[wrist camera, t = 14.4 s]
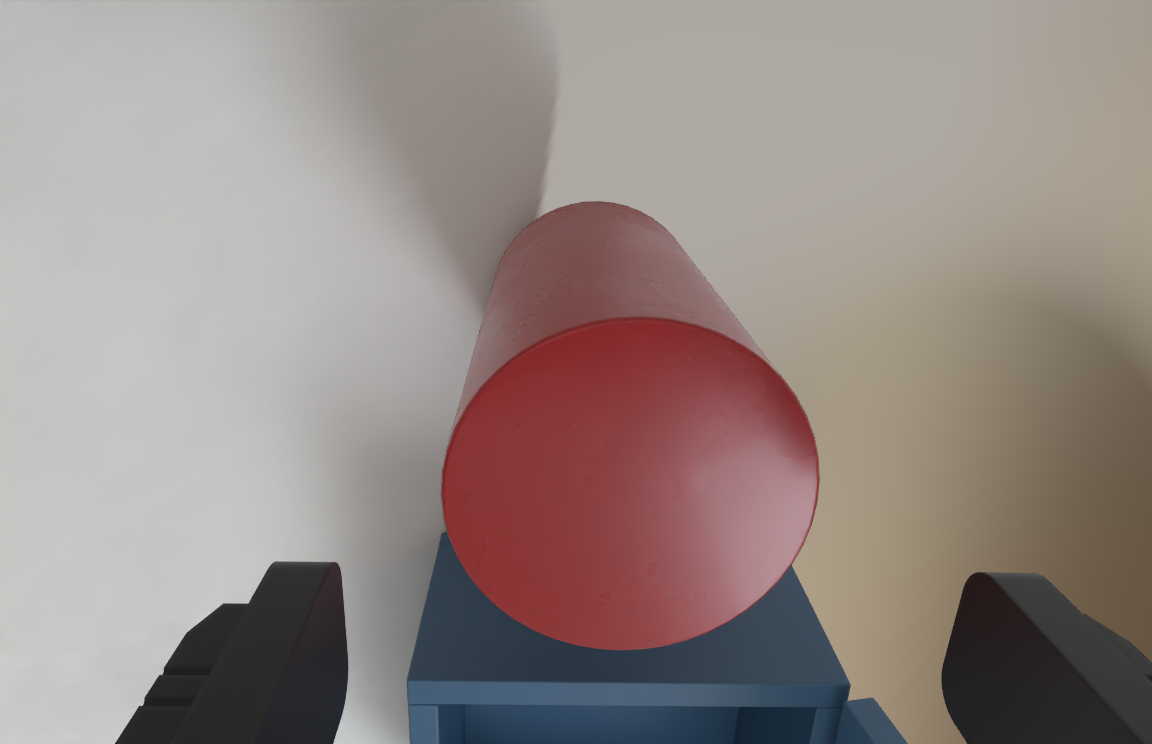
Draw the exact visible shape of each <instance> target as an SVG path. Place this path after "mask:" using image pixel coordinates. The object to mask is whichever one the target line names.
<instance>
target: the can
mask: <svg viewBox="0 0 1152 744" xmlns="http://www.w3.org/2000/svg"><path fill="white" fill-rule="evenodd" d="M819 481H820V477H819V457H818V453H817V447H816V442H815V437H814V434H813V431H812V428H811V426H810V423H809V420H808V417H807V415H806V413H805V411H804V409H803V407H802V406H801V404H800V402H799V400H798V398H797V396H796V395H795V393H794V392H793V391H792V390H791V388H790V387H789V386H788V384H787V383H786V382H785V380H784V379H783V378H782V376H781V375H780V374H779V373H778V371H777V370H776V369H775V367H774V366H773V365H772V364H771V362H770V361H769V360H768V358H767V357H766V356H765V355H764V353H763V352H762V351H761V349H760V348H759V347H758V345H757V344H756V343H755V342H754V340H753V339H752V338H751V336H750V335H749V334H748V332H747V331H746V330H745V329H744V327H743V326H742V325H741V323H740V322H739V321H738V320H737V318H736V317H735V316H734V314H733V313H732V312H731V311H730V309H729V308H728V307H727V305H726V304H725V303H724V301H723V300H722V299H721V298H720V296H719V295H718V294H717V292H716V291H715V290H714V289H713V287H712V286H711V285H710V283H709V282H708V281H707V280H706V278H705V277H704V276H703V274H702V273H701V272H700V271H699V269H698V268H697V267H696V265H695V264H694V263H693V261H692V260H691V259H690V258H689V256H688V255H687V254H686V252H685V251H684V250H683V249H682V247H681V246H680V245H679V244H678V242H677V241H676V240H675V238H674V237H673V236H672V235H671V234H670V233H669V232H668V231H667V230H666V229H665V228H664V227H663V226H662V225H661V224H659V223H658V222H657V221H655V220H654V219H653V218H651V217H650V216H647V215H646V214H644V213H642V212H641V211H638V210H636V209H633V208H630V207H628V206H624V205H620V204H616V203H610V202H599V201H598V202H581V203H575V204H570V205H567V206H564V207H560V208H558V209H555V210H553V211H551V212H549V213H546V214H545V215H543V216H541V217H540V218H538V219H536V220H535V221H533V222H532V223H531V224H530V225H528V226H527V227H526V228H525V229H524V230H523V231H522V232H521V233H520V234H519V235H518V236H517V237H516V238H515V239H514V240H513V242H512V243H511V245H510V246H509V247H508V249H507V250H506V252H505V254H504V256H503V258H502V259H501V261H500V263H499V266H498V269H497V272H496V274H495V278H494V281H493V285H492V288H491V292H490V296H489V299H488V303H487V306H486V310H485V313H484V317H483V321H482V324H481V328H480V331H479V335H478V338H477V342H476V346H475V349H474V353H473V356H472V360H471V364H470V367H469V371H468V374H467V378H466V381H465V385H464V389H463V392H462V396H461V399H460V403H459V406H458V410H457V414H456V417H455V421H454V424H453V428H452V431H451V435H450V439H449V442H448V446H447V449H446V454H445V459H444V464H443V469H442V482H441V499H442V509H443V517H444V521H445V524H446V528H447V532H448V536H449V539H450V541H451V543H452V546H453V548H454V551H455V553H456V555H457V557H458V559H459V560H460V562H461V564H462V565H463V567H464V569H465V571H466V572H467V574H468V575H469V577H470V578H471V579H472V580H473V582H474V583H475V584H476V585H477V587H478V588H479V589H480V590H481V592H482V593H483V594H484V595H485V596H486V597H487V598H489V599H490V600H491V601H492V602H493V603H494V604H495V605H496V606H497V607H498V608H500V609H501V610H502V611H504V612H505V613H506V614H508V615H509V616H510V617H512V618H513V619H514V620H516V621H518V622H520V623H522V624H523V625H525V626H527V627H529V628H530V629H532V630H534V631H536V632H539V633H541V634H544V635H546V636H548V637H551V638H553V639H556V640H560V641H563V642H567V643H570V644H574V645H578V646H584V647H590V648H595V649H608V650H639V649H648V648H655V647H662V646H667V645H671V644H675V643H679V642H683V641H687V640H689V639H692V638H695V637H697V636H700V635H703V634H706V633H708V632H710V631H712V630H714V629H716V628H718V627H720V626H722V625H724V624H726V623H728V622H730V621H731V620H733V619H734V618H736V617H738V616H739V615H741V614H742V613H744V612H745V611H747V610H748V609H749V608H751V607H752V606H753V605H754V604H755V603H757V602H758V601H759V600H760V599H762V598H763V597H764V596H765V595H766V594H767V593H768V592H769V591H770V590H771V589H772V588H773V587H774V586H775V585H776V584H777V583H778V582H779V581H780V579H781V578H782V577H783V575H784V574H785V573H786V571H787V570H788V569H789V567H790V566H791V565H792V563H793V562H794V560H795V558H796V556H797V555H798V553H799V551H800V549H801V548H802V546H803V544H804V542H805V539H806V537H807V534H808V532H809V530H810V527H811V525H812V521H813V517H814V513H815V509H816V505H817V500H818V491H819Z"/></svg>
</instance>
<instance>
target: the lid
mask: <svg viewBox="0 0 1152 744" xmlns="http://www.w3.org/2000/svg"><path fill="white" fill-rule="evenodd" d="M835 744H908V743H907V742H906V741H905V739H904V738H903V737H902V735H901V734H900V733H899V731H898V730H897V729H896V727H895V726H894V725H893V723H892V722H891V721H890V719H889V718H888V717H887V716H886V714H885V713H884V711H883V710H882V709H881V707H880V706H879V705H878V703H877V702H876V701H875V700H874V698H866V699H859V700H852V701H845V702H844V705H843V710H842V715H841V719H840V724H839V729H838V733H837V738H836V742H835Z"/></svg>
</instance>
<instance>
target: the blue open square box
mask: <svg viewBox="0 0 1152 744" xmlns="http://www.w3.org/2000/svg"><path fill="white" fill-rule="evenodd" d="M850 686H851V685H850V682H849V680H848V678H847V676H846V674H845V672H844V670H843V668H842V666H841V664H840V662H839V660H838V658H837V656H836V654H835V652H834V650H833V648H832V646H831V644H830V642H829V640H828V638H827V636H826V634H825V632H824V630H823V628H822V626H821V624H820V622H819V620H818V618H817V616H816V614H815V612H814V610H813V608H812V606H811V603H810V602H809V599H808V597H807V595H806V593H805V591H804V589H803V587H802V585H801V583H800V581H799V579H798V577H797V575H796V573H795V571H794V569H793V567H792V565H791V566H790V567H789V569H788V570H787V571H786V573H785V574H784V575H783V577H782V578H781V579H780V581H779V582H778V583H777V584H776V585H775V586H774V587H773V588H772V589H771V590H770V591H769V592H768V593H767V594H766V595H765V596H764V597H763V598H762V599H760V600H759V601H758V602H757V603H755V604H754V605H753V606H752V607H751V608H749V609H748V610H747V611H745V612H744V613H742V614H741V615H739V616H738V617H736V618H734V619H733V620H731V621H730V622H728V623H726V624H724V625H722V626H720V627H718V628H716V629H714V630H712V631H710V632H708V633H706V634H703V635H700V636H697V637H695V638H692V639H689V640H687V641H683V642H679V643H675V644H671V645H667V646H662V647H655V648H648V649H639V650H608V649H595V648H590V647H584V646H578V645H574V644H570V643H567V642H563V641H560V640H556V639H553V638H551V637H548V636H546V635H544V634H541V633H539V632H536V631H534V630H532V629H530V628H529V627H527V626H525V625H523V624H522V623H520V622H518V621H516V620H514V619H513V618H512V617H510V616H509V615H508V614H506V613H505V612H504V611H502V610H501V609H500V608H498V607H497V606H496V605H495V604H494V603H493V602H492V601H491V600H490V599H489V598H487V597H486V596H485V595H484V594H483V593H482V592H481V590H480V589H479V588H478V587H477V585H476V584H475V583H474V582H473V580H472V579H471V578H470V577H469V575H468V574H467V572H466V571H465V569H464V567H463V565H462V564H461V562H460V560H459V559H458V557H457V555H456V553H455V551H454V548H453V546H452V543H451V541H450V539H449V536H448V534H442V535H441V539H440V543H439V548H438V551H437V556H436V560H435V564H434V568H433V572H432V577H431V581H430V585H429V589H428V593H427V598H426V602H425V606H424V610H423V614H422V619H421V623H420V627H419V631H418V635H417V640H416V644H415V648H414V652H413V656H412V661H411V665H410V669H409V673H408V677H407V697H408V713H409V734H410V744H835V742H836V738H837V733H838V729H839V724H840V719H841V715H842V710H843V705H844V702H845V701H847V700H848V696H849V690H850Z"/></svg>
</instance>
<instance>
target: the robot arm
mask: <svg viewBox="0 0 1152 744" xmlns="http://www.w3.org/2000/svg"><path fill="white" fill-rule="evenodd" d="M347 682H348V654H347V640H346V627H345V614H344V601H343V588H342V577H341V570H340V567H339V565H338V563H336V562H277V561H275V562H274V563H272V564H271V565H270V567H269V568H268V570H267V572H266V573H265V575H264V577H263V579H262V581H261V582H260V584H259V586H258V588H257V589H256V591H255V593H254V595H253V596H252V598H251V600H250V602H249V604H222V605H221V606H220V607H219V608H217V609H216V610H215V611H214V612H212V613H211V614H210V615H209V616H207V617H206V618H205V619H204V620H202V621H201V622H200V623H198V624H197V625H196V626H195V627H193V628H192V629H191V630H190V631H188V632H187V633H186V635H185V636H184V638H183V639H182V641H181V642H180V644H179V646H178V647H177V649H176V650H175V652H174V653H173V655H172V656H171V658H170V659H169V661H168V663H167V664H166V666H165V667H164V673H163V675H159V676H158V678H157V680H156V681H155V683H154V684H153V686H152V687H151V689H150V690H149V692H148V694H147V695H146V697H145V698H144V699H145V701H144V705H143V706H139V707H138V709H137V711H136V712H135V714H134V715H133V717H132V718H131V720H130V721H129V723H128V724H127V726H126V728H125V729H124V731H123V732H122V734H121V735H120V737H119V738H118V740H117V741H116V743H115V744H333V742H334V739H335V736H336V732H337V729H338V726H339V723H340V720H341V716H342V713H343V709H344V704H345V698H346V691H347ZM942 690H943V696H944V699H945V704H946V707H947V709H948V712H949V714H950V716H951V718H952V720H953V722H954V723H955V725H956V727H957V728H958V730H959V731H960V733H961V734H962V736H963V737H964V739H965V740H966V742H967V744H1152V662H1151V661H1150V660H1149V659H1147V658H1146V657H1145V656H1144V655H1143V654H1142V653H1141V652H1140V651H1139V650H1138V649H1137V648H1136V647H1135V646H1134V645H1133V644H1132V643H1131V642H1129V641H1127V640H1126V639H1124V638H1123V637H1121V636H1119V635H1118V634H1116V633H1115V632H1113V631H1111V630H1110V629H1108V628H1107V627H1105V626H1103V625H1102V624H1100V623H1098V622H1097V621H1095V620H1094V619H1092V618H1090V617H1089V616H1087V615H1086V614H1082V613H1081V612H1080V611H1079V610H1078V609H1077V608H1076V607H1075V606H1074V605H1073V604H1072V603H1071V602H1070V601H1069V600H1068V599H1067V598H1066V597H1065V596H1064V595H1063V594H1062V593H1061V592H1060V591H1059V590H1057V588H1056V587H1054V586H1053V584H1052V583H1050V582H1049V581H1048V580H1047V579H1046V578H1045V577H1043V576H1041V575H1039V574H1036V573H987V572H984V573H983V572H977V573H974V574H972V575H971V576H970V577H969V578H968V580H967V581H966V583H965V585H964V589H963V592H962V596H961V600H960V604H959V607H958V611H957V614H956V618H955V622H954V626H953V629H952V633H951V637H950V641H949V645H948V648H947V652H946V656H945V659H944V663H943V668H942Z"/></svg>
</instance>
